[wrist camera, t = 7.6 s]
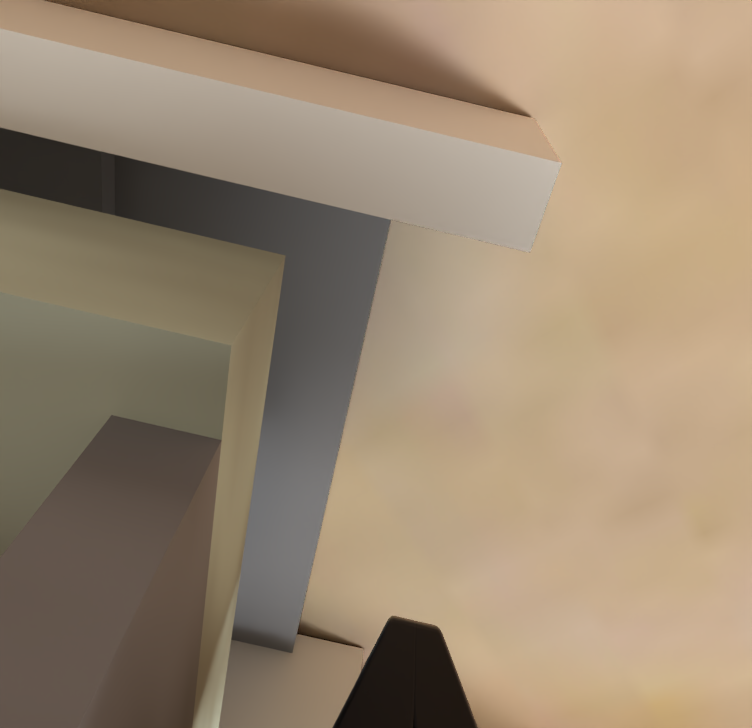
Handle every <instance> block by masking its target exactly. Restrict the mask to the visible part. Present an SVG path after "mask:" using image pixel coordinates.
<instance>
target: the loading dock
mask: <svg viewBox="0 0 752 728" xmlns="http://www.w3.org/2000/svg"><path fill="white" fill-rule="evenodd" d="M561 164H562V162H561V161H560V159H559V157H558V156H557V154H556V153H555V151H554V149H553V148H552V146H551V144H550V143H549V141H548V139H547V138H546V136H545V135H544V133H543V131H542V130H541V128H540V126H539V125H538V123H537V121H536V120H535V119H534V118H530V117H526V116H522V115H518V114H513V113H509V112H505V111H501V110H497V109H493V108H489V107H484V106H480V105H476V104H472V103H468V102H464V101H459V100H455V99H451V98H447V97H443V96H439V95H435V94H430V93H426V92H422V91H418V90H414V89H410V88H406V87H401V86H397V85H393V84H389V83H385V82H381V81H376V80H372V79H368V78H364V77H360V76H356V75H352V74H347V73H343V72H339V71H335V70H331V69H327V68H322V67H318V66H314V65H310V64H306V63H302V62H298V61H293V60H289V59H285V58H281V57H277V56H273V55H268V54H264V53H260V52H256V51H252V50H248V49H244V48H239V47H235V46H231V45H227V44H223V43H219V42H215V41H210V40H206V39H202V38H198V37H194V36H190V35H185V34H181V33H177V32H173V31H169V30H165V29H161V28H156V27H152V26H148V25H144V24H140V23H136V22H131V21H127V20H123V19H119V18H115V17H111V16H107V15H102V14H98V13H94V12H90V11H86V10H82V9H77V8H73V7H69V6H65V5H61V4H57V3H53V2H48V1H44V0H0V189H4V190H8V191H12V192H17V193H21V194H25V195H29V196H34V197H38V198H42V199H47V200H51V201H55V202H59V203H64V204H68V205H72V206H76V207H81V208H85V209H89V210H93V211H98V212H102V213H106V214H110V215H115V216H119V217H123V218H128V219H132V220H136V221H140V222H145V223H149V224H153V225H157V226H162V227H166V228H170V229H174V230H179V231H183V232H187V233H192V234H196V235H200V236H204V237H209V238H213V239H217V240H221V241H226V242H230V243H234V244H238V245H243V246H247V247H251V248H256V249H260V250H264V251H268V252H273V253H277V254H281V255H285V263H284V270H283V277H282V285H281V292H280V299H279V306H278V313H277V320H276V327H275V334H274V341H273V348H272V355H271V362H270V369H269V376H268V383H267V390H266V397H265V404H264V411H263V418H262V425H261V433H260V440H259V447H258V454H257V461H256V468H255V475H254V482H253V489H252V496H251V503H250V510H249V517H248V524H247V531H246V538H245V545H244V552H243V559H242V566H241V574H240V581H239V588H238V595H237V602H236V609H235V616H234V623H233V630H232V637H231V644H230V651H229V658H228V665H227V672H226V679H225V686H224V693H223V700H222V707H221V714H220V722H219V728H332V727H333V725H334V723H335V721H336V720H337V718H338V716H339V714H340V712H341V710H342V708H343V706H344V704H345V702H346V700H347V698H348V696H349V694H350V692H351V690H352V688H353V687H354V685H355V683H356V681H357V679H358V677H359V675H360V673H361V668H362V660H363V652H364V649H362V648H358V647H353V646H349V645H344V644H340V643H335V642H331V641H326V640H322V639H317V638H313V637H308V636H304V635H299V634H297V631H298V627H299V622H300V618H301V614H302V609H303V605H304V600H305V596H306V592H307V587H308V583H309V578H310V574H311V570H312V565H313V561H314V556H315V552H316V548H317V543H318V539H319V534H320V530H321V526H322V521H323V517H324V512H325V508H326V504H327V499H328V495H329V490H330V486H331V482H332V477H333V473H334V468H335V464H336V460H337V455H338V451H339V446H340V442H341V438H342V433H343V429H344V424H345V420H346V416H347V411H348V407H349V402H350V398H351V394H352V389H353V385H354V380H355V376H356V372H357V367H358V363H359V358H360V354H361V350H362V345H363V341H364V337H365V332H366V328H367V323H368V319H369V315H370V310H371V306H372V301H373V297H374V293H375V288H376V284H377V279H378V275H379V271H380V266H381V262H382V257H383V253H384V249H385V244H386V240H387V235H388V231H389V227H390V222H391V220H394V221H398V222H402V223H406V224H411V225H415V226H419V227H423V228H428V229H432V230H436V231H440V232H445V233H449V234H453V235H457V236H461V237H466V238H470V239H474V240H478V241H483V242H487V243H491V244H495V245H500V246H504V247H508V248H512V249H516V250H521V251H525V252H529V253H530V251H531V249H532V246H533V243H534V240H535V237H536V235H537V232H538V229H539V226H540V223H541V220H542V218H543V215H544V212H545V209H546V206H547V204H548V201H549V198H550V195H551V192H552V190H553V187H554V184H555V181H556V178H557V176H558V173H559V170H560V167H561Z"/></svg>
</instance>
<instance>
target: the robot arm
mask: <svg viewBox="0 0 752 728" xmlns="http://www.w3.org/2000/svg"><path fill="white" fill-rule="evenodd" d="M332 728H478V727H477V724H476V721H475V719H474V716H473V714H472V711H471V708H470V706H469V703H468V700H467V698H466V695H465V692H464V690H463V687H462V684H461V682H460V679H459V676H458V674H457V671H456V669H455V666H454V663H453V661H452V658H451V655H450V653H449V650H448V647H447V645H446V642H445V639H444V637H443V634H442V632H441V630H440V629H439V628H438V627H437V626H435V625H431V624H427V623H423V622H418V621H414V620H410V619H405V618H401V617H397V616H391V617H390V618H389V619H388V621H387V623H386V624H385V626H384V628H383V630H382V632H381V634H380V636H379V638H378V640H377V642H376V644H375V646H374V648H373V650H372V652H371V654H370V656H369V657H368V659H367V661H366V663H365V665H364V667H363V669H362V671H361V673H360V675H359V677H358V679H357V681H356V683H355V685H354V687H353V688H352V690H351V692H350V694H349V696H348V698H347V700H346V702H345V704H344V706H343V708H342V710H341V712H340V714H339V716H338V718H337V720H336V721H335V723H334V725H333V727H332Z"/></svg>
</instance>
